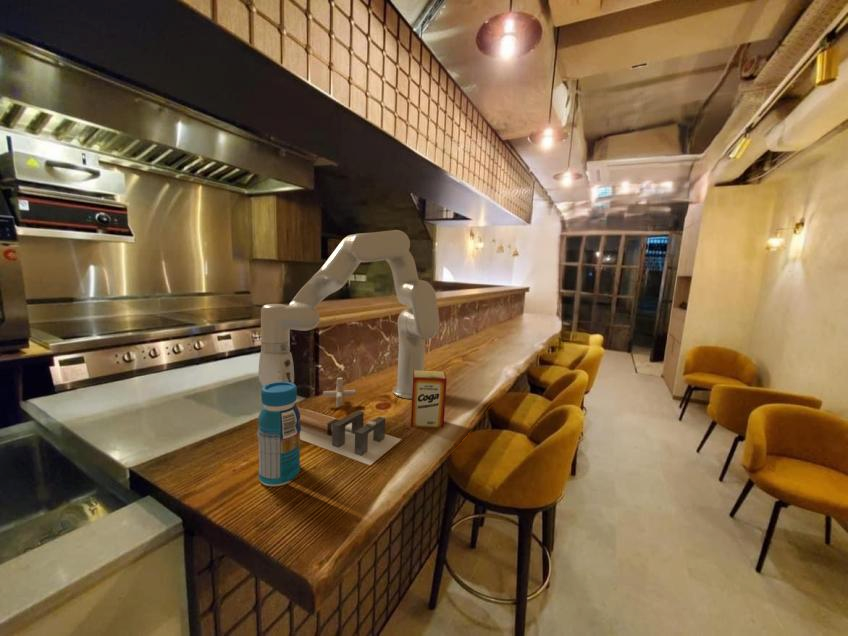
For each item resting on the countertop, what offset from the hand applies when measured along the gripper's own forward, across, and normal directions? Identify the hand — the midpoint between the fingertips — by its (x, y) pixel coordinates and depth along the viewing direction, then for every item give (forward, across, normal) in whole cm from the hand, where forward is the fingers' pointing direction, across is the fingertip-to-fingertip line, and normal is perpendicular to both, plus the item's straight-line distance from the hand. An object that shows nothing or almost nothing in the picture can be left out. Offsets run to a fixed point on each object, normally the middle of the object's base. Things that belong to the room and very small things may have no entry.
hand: (275, 407), depth 99 cm
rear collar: (+2, -27, 0) cm, 27 cm away
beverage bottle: (+3, -24, +19) cm, 31 cm away
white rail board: (+3, -22, 0) cm, 22 cm away
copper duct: (+2, -15, 0) cm, 15 cm away
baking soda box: (+3, -40, -20) cm, 45 cm away
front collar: (+2, -34, 0) cm, 34 cm away
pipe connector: (+3, -11, -15) cm, 19 cm away
